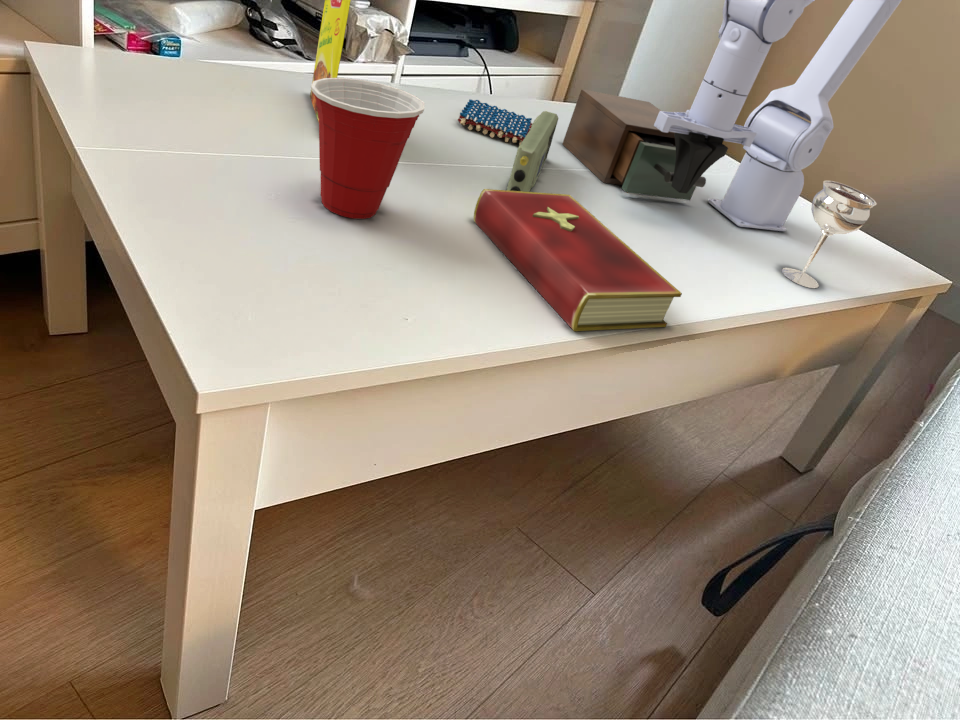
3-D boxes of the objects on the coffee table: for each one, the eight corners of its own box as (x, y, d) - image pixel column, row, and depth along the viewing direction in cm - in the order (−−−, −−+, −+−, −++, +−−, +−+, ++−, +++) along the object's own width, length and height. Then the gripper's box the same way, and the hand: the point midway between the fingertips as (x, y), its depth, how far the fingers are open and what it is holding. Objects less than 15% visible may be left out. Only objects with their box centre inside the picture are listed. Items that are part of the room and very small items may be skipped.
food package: (306, 95, 103) (331, -68, 92) (314, 96, 103) (340, -66, 92) (321, 139, 91) (352, -41, 81) (330, 141, 92) (362, -38, 81)
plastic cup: (340, 174, 84) (360, 65, 78) (418, 216, 81) (446, 106, 75) (270, 193, 76) (287, 73, 69) (355, 241, 73) (380, 119, 66)
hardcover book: (570, 331, 70) (586, 292, 68) (471, 221, 84) (481, 186, 82) (665, 326, 76) (683, 291, 74) (558, 225, 90) (570, 192, 88)
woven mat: (525, 150, 110) (529, 136, 109) (455, 126, 110) (458, 112, 108) (532, 130, 119) (536, 117, 117) (467, 108, 118) (470, 95, 117)
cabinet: (673, 192, 113) (698, 136, 109) (603, 182, 108) (626, 124, 103) (628, 154, 123) (649, 101, 118) (562, 143, 117) (581, 88, 113)
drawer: (707, 214, 106) (729, 169, 102) (641, 206, 101) (661, 158, 97) (645, 163, 118) (663, 121, 114) (584, 154, 113) (600, 109, 109)
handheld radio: (548, 161, 109) (518, 221, 87) (526, 154, 109) (490, 213, 88) (562, 115, 105) (534, 166, 84) (539, 108, 105) (505, 157, 84)
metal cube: (649, 169, 112) (663, 137, 109) (664, 181, 109) (678, 148, 107) (622, 165, 110) (635, 132, 107) (635, 177, 107) (650, 143, 104)
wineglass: (766, 268, 98) (814, 182, 91) (787, 261, 102) (834, 178, 96) (813, 296, 95) (866, 208, 88) (833, 286, 99) (884, 203, 93)
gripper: (749, 85, 99) (704, 182, 106) (661, 65, 92) (619, 170, 99) (784, 105, 94) (734, 205, 101) (693, 86, 87) (646, 194, 94)
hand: (679, 189), depth 100 cm, fingers closed, pressing on drawer
